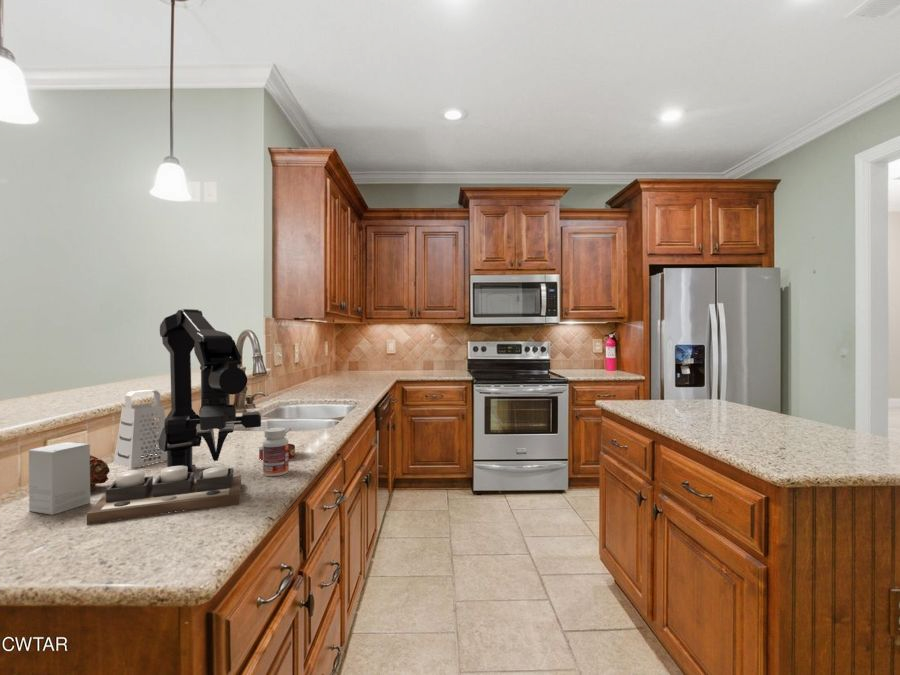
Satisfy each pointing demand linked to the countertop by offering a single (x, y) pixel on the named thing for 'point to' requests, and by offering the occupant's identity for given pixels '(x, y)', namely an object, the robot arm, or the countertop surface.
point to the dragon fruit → (97, 471)
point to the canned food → (290, 450)
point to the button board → (165, 497)
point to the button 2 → (215, 472)
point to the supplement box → (59, 477)
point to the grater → (140, 432)
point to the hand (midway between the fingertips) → (215, 460)
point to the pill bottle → (275, 452)
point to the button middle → (174, 474)
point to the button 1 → (130, 478)
